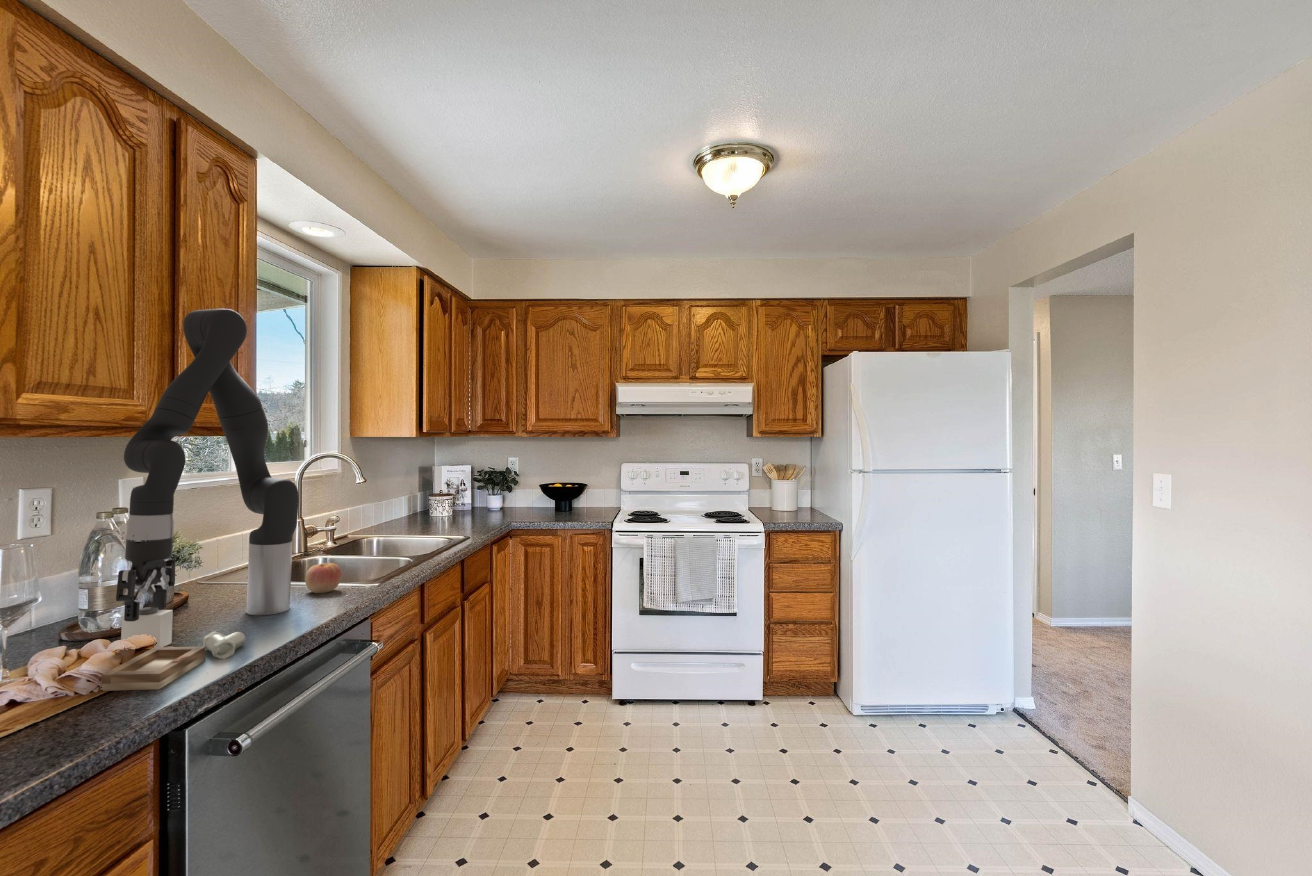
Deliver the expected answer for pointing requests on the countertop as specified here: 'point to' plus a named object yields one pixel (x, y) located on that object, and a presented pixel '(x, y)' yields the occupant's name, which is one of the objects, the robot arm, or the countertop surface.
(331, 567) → the apple
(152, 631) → the white rectangular block
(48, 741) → the countertop surface
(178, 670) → the shallow brown rectangular tray
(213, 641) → the pipe fitting
